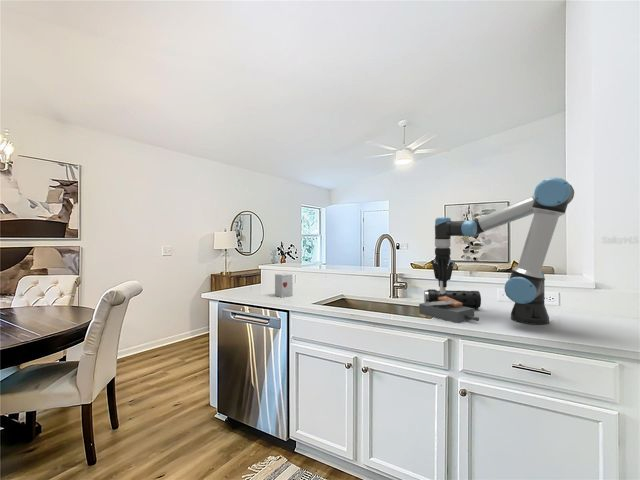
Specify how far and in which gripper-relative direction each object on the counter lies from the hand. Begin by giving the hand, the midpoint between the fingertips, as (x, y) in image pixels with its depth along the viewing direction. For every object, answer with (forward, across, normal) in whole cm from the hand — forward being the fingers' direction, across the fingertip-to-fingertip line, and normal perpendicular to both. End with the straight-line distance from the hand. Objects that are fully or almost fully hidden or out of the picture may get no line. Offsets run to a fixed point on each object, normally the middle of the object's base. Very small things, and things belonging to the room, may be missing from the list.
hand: (442, 293), depth 166 cm
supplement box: (+11, +93, +45) cm, 104 cm away
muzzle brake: (+11, +5, -14) cm, 18 cm away
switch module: (+10, -7, +3) cm, 13 cm away
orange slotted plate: (+3, -4, 0) cm, 6 cm away
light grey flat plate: (+3, -4, +7) cm, 9 cm away
